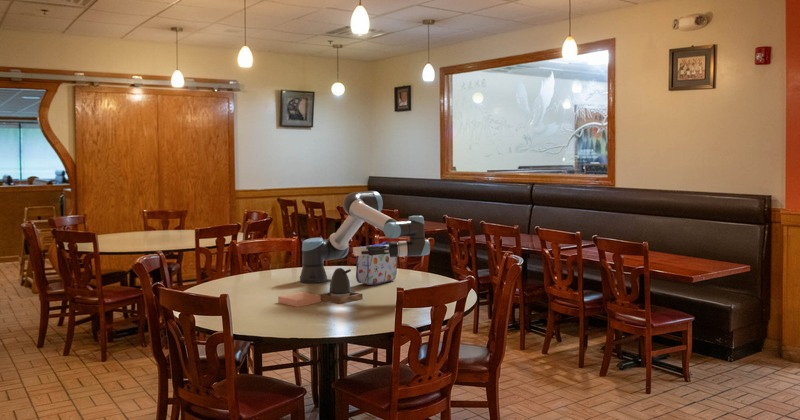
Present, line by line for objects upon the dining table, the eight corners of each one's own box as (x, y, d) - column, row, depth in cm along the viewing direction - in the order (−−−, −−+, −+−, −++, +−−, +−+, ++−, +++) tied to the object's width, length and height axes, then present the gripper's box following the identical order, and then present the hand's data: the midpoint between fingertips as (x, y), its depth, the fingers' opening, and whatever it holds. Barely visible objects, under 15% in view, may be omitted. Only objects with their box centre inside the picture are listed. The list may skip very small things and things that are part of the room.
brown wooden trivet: (341, 294, 335) (341, 289, 335) (362, 298, 325) (362, 293, 325) (318, 299, 324) (318, 294, 324) (339, 304, 314) (339, 298, 314)
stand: (301, 297, 329) (301, 291, 329) (320, 301, 319) (320, 295, 319) (278, 302, 319) (278, 296, 318) (297, 306, 309) (297, 300, 309)
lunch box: (385, 278, 380) (385, 239, 379) (400, 279, 374) (400, 240, 372) (353, 285, 359) (353, 244, 357) (368, 287, 352) (368, 245, 351)
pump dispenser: (352, 301, 321) (351, 269, 319) (330, 302, 319) (329, 270, 318) (350, 296, 331) (349, 265, 329) (328, 297, 329) (328, 266, 328)
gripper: (400, 259, 314) (355, 262, 312) (395, 254, 339) (352, 256, 337) (400, 243, 314) (354, 246, 311) (394, 239, 338) (352, 241, 336)
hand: (353, 251), depth 324 cm, fingers open, 13 cm apart
